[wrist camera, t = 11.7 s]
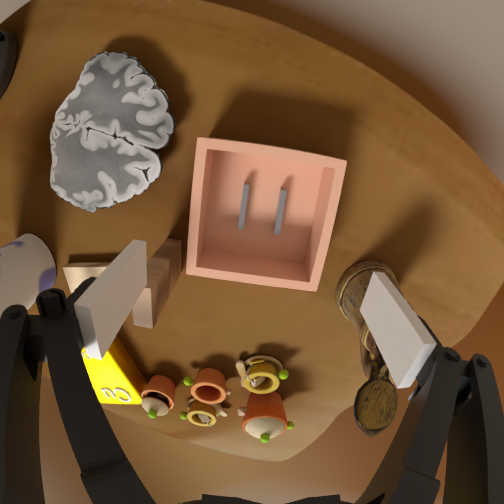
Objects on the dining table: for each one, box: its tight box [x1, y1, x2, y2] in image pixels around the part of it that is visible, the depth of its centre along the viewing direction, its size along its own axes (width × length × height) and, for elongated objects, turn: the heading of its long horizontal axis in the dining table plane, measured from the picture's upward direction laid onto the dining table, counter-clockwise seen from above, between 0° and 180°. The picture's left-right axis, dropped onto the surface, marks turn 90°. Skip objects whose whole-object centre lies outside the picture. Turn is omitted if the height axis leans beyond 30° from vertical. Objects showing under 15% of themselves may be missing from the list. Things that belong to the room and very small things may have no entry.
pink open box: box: [186, 137, 347, 291], centre depth 30 cm, size 14×14×6 cm
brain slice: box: [50, 51, 175, 213], centre depth 29 cm, size 20×17×3 cm
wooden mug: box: [336, 260, 414, 438], centre depth 30 cm, size 9×14×18 cm, turn 164°
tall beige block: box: [132, 238, 183, 329], centre depth 30 cm, size 4×2×12 cm, turn 172°
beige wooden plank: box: [63, 262, 112, 294], centre depth 37 cm, size 12×4×2 cm, turn 93°
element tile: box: [81, 335, 148, 404], centre depth 43 cm, size 15×15×5 cm
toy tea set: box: [141, 355, 294, 442], centre depth 41 cm, size 26×16×10 cm, turn 106°
